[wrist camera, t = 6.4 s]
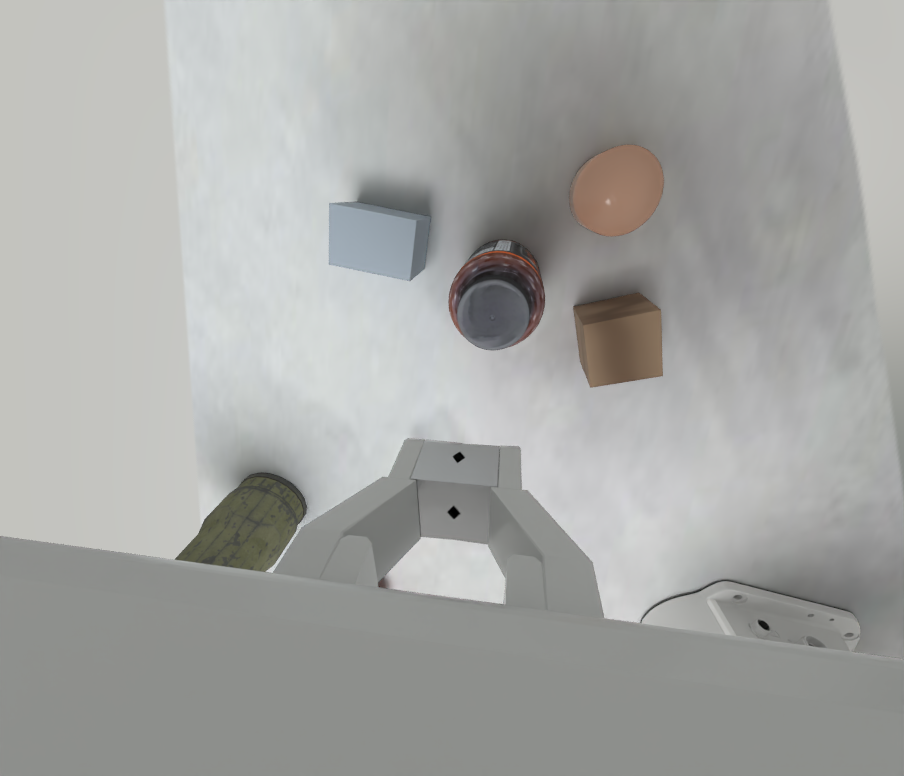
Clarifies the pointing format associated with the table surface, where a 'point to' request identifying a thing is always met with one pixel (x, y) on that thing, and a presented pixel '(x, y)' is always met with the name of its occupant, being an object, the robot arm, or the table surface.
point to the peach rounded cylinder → (617, 190)
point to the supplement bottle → (497, 296)
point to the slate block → (377, 239)
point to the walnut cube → (619, 339)
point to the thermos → (249, 525)
